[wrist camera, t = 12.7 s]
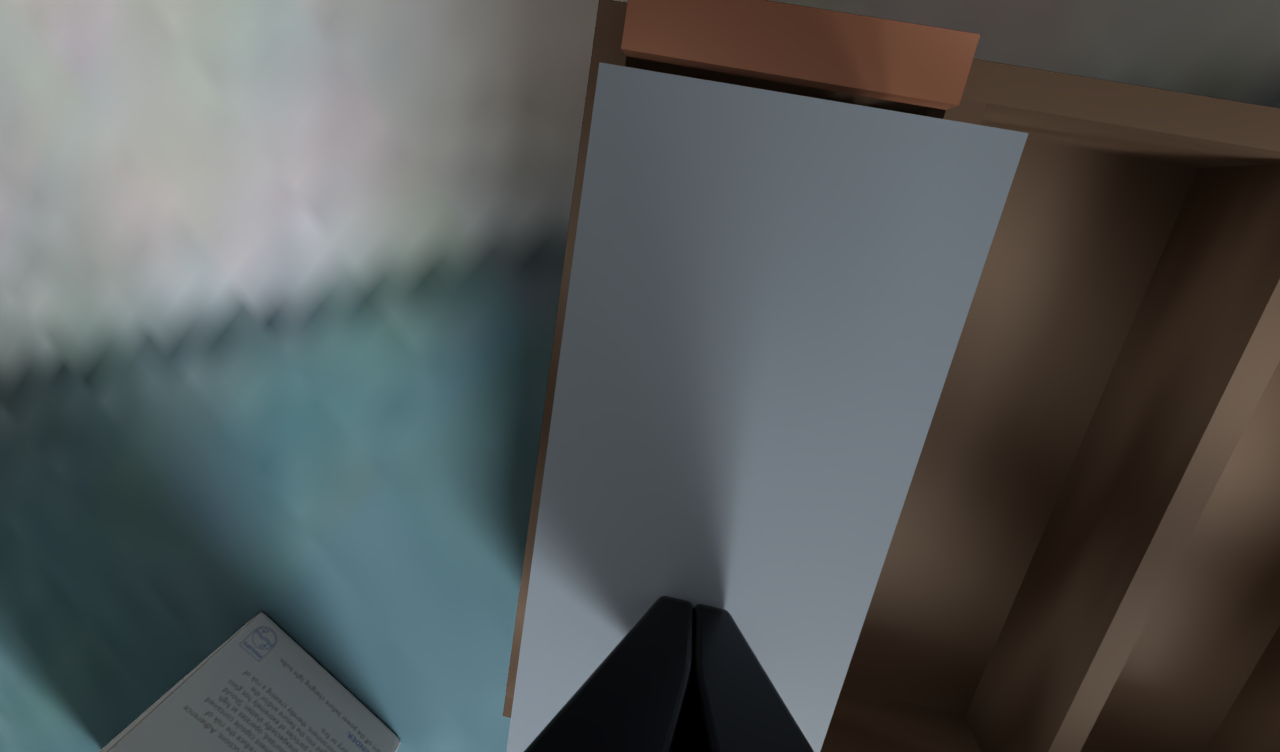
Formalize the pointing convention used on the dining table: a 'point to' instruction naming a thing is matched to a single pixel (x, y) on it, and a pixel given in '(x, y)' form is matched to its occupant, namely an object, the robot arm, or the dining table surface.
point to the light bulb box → (257, 704)
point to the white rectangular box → (747, 370)
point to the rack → (1051, 401)
